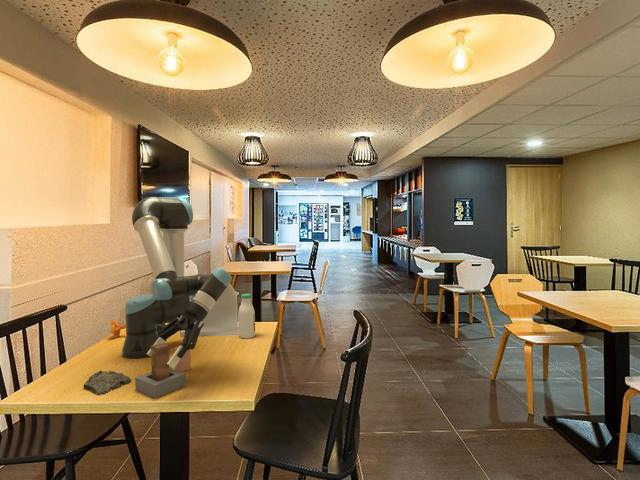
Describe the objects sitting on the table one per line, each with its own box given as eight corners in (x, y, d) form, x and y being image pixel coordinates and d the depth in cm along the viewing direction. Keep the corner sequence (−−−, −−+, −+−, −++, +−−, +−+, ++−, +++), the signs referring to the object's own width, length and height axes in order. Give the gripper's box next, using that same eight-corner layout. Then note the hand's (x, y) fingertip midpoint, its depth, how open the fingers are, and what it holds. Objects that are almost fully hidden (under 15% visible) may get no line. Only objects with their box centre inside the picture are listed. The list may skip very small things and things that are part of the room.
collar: (135, 389, 125) (135, 377, 125) (166, 378, 134) (165, 366, 134) (155, 398, 118) (154, 385, 118) (185, 385, 127) (185, 373, 127)
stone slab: (112, 373, 140) (112, 365, 140) (137, 384, 130) (136, 375, 130) (75, 385, 130) (74, 377, 130) (98, 398, 120) (97, 388, 120)
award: (242, 330, 193) (241, 275, 192) (240, 335, 184) (239, 277, 183) (185, 331, 191) (183, 276, 190) (180, 337, 182) (178, 278, 181)
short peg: (174, 369, 142) (174, 348, 141) (184, 366, 145) (183, 345, 145) (181, 371, 139) (180, 350, 139) (190, 368, 143) (190, 347, 142)
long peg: (152, 388, 126) (150, 345, 125) (163, 384, 129) (162, 342, 128) (158, 391, 123) (157, 348, 123) (170, 387, 126) (168, 345, 126)
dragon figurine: (116, 317, 187) (168, 303, 191) (123, 341, 188) (175, 327, 192) (108, 322, 177) (163, 308, 180) (115, 347, 178) (170, 333, 181)
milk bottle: (251, 339, 178) (250, 296, 177) (235, 338, 179) (235, 295, 178) (257, 334, 185) (256, 293, 184) (242, 333, 187) (241, 292, 186)
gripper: (227, 318, 130) (188, 376, 119) (187, 307, 146) (150, 357, 136) (213, 305, 125) (171, 364, 115) (174, 296, 142) (134, 346, 131)
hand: (159, 361), depth 125 cm, fingers open, 13 cm apart
